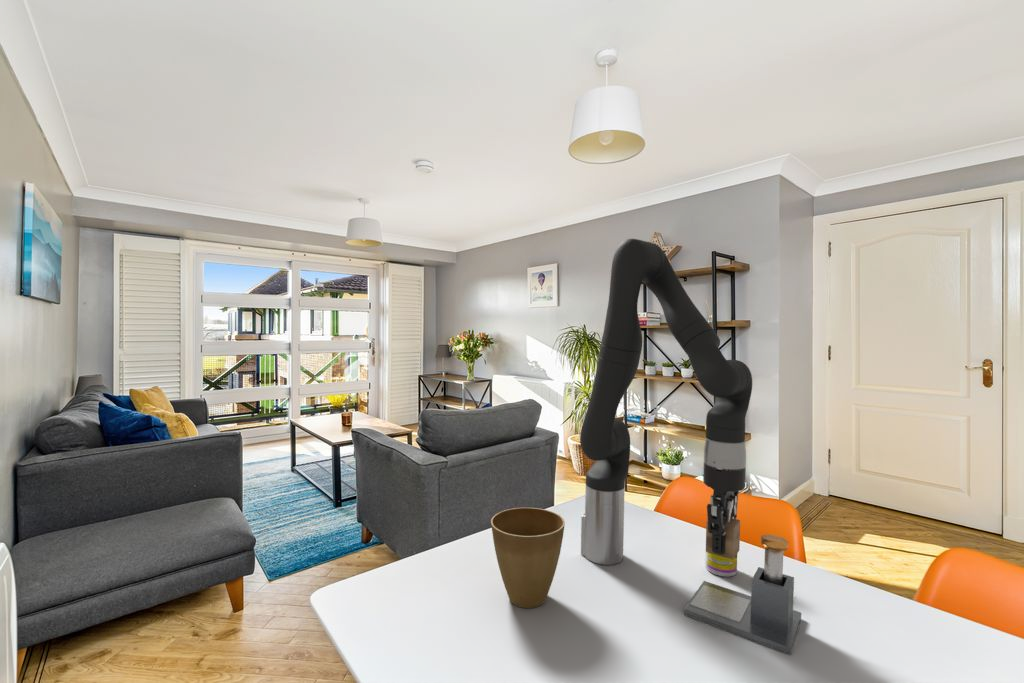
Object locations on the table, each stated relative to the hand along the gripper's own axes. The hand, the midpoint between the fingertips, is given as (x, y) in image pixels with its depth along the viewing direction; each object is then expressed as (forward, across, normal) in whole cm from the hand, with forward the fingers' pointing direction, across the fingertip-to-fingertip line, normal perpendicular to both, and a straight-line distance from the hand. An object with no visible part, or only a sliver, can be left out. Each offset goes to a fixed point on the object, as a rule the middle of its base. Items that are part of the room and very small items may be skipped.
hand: (722, 547), depth 94 cm
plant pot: (+12, +21, -32) cm, 40 cm away
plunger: (+7, 0, +9) cm, 11 cm away
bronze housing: (+1, 0, 0) cm, 1 cm away
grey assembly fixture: (+12, 0, +4) cm, 13 cm away
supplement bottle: (+12, -16, -4) cm, 21 cm away
